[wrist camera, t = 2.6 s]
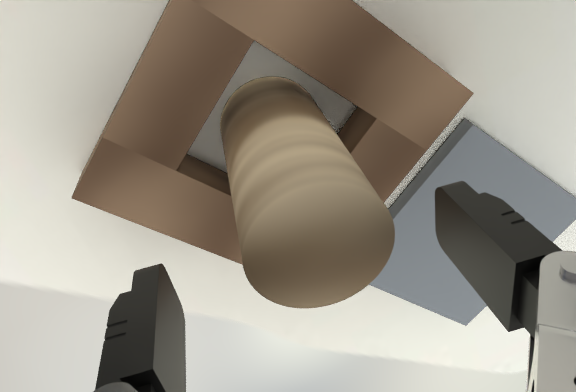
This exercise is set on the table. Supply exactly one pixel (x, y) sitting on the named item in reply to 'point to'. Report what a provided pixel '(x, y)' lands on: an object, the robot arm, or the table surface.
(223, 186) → the pocket block
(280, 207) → the peg
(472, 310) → the mat
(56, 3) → the table surface
